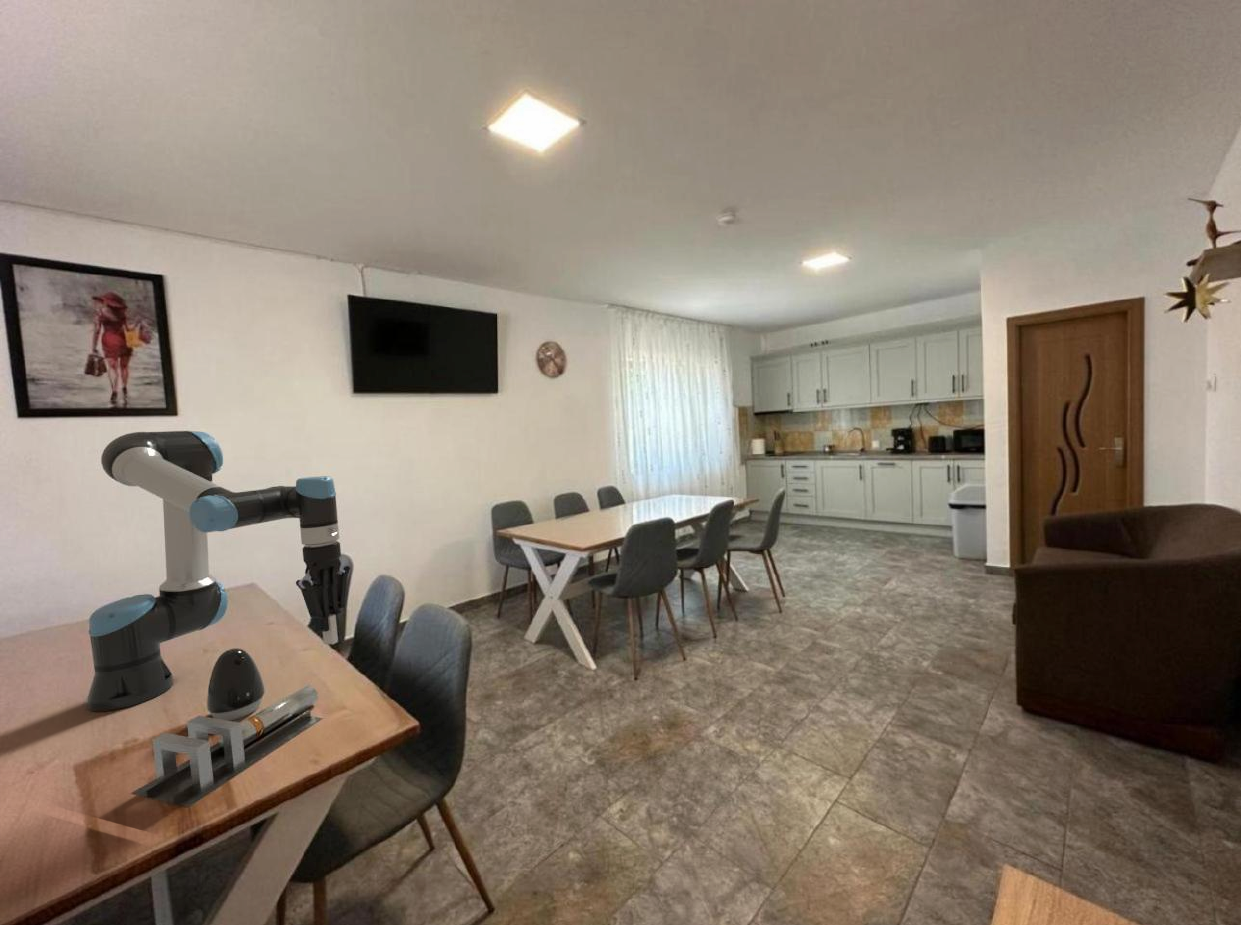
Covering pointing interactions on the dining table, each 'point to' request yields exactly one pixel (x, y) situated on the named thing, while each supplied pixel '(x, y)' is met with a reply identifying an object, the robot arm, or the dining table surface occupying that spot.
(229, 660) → the black tall rounded dome
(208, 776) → the twin arch cradle
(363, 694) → the dining table surface
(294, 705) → the tube
